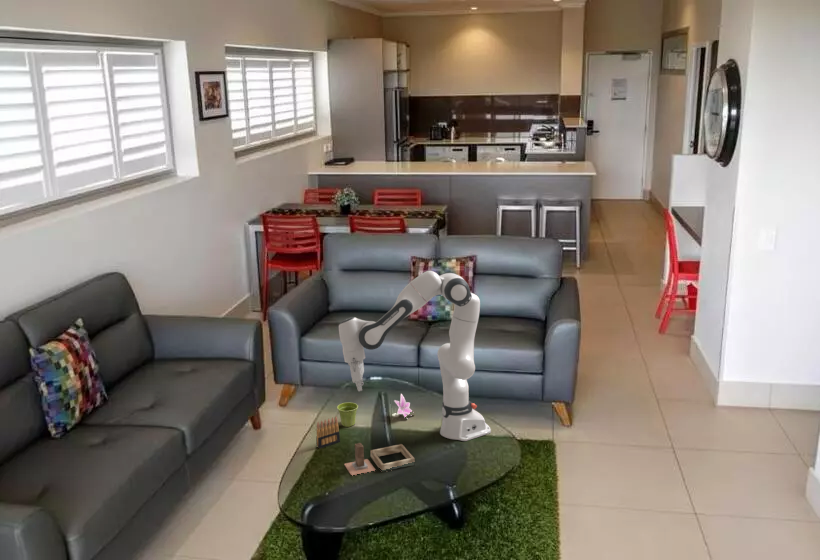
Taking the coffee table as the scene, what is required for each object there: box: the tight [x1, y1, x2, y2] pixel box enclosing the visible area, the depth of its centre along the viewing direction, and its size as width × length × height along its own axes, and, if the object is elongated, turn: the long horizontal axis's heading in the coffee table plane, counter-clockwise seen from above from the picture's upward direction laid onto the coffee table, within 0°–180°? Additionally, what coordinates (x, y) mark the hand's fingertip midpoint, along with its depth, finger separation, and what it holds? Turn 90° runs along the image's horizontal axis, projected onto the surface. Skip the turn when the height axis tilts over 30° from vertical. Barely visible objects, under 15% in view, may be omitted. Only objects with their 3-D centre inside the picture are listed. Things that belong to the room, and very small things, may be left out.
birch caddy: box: [370, 443, 416, 471], centre depth 304 cm, size 14×14×3 cm
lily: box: [393, 393, 413, 418], centre depth 345 cm, size 12×12×10 cm
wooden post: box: [352, 442, 368, 471], centre depth 298 cm, size 5×5×10 cm
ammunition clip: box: [315, 416, 341, 449], centre depth 318 cm, size 11×2×12 cm, turn 126°
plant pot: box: [336, 402, 359, 428], centre depth 338 cm, size 9×9×9 cm
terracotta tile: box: [344, 458, 376, 477], centre depth 299 cm, size 10×10×1 cm
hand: (360, 388), depth 312 cm, fingers open, 8 cm apart
